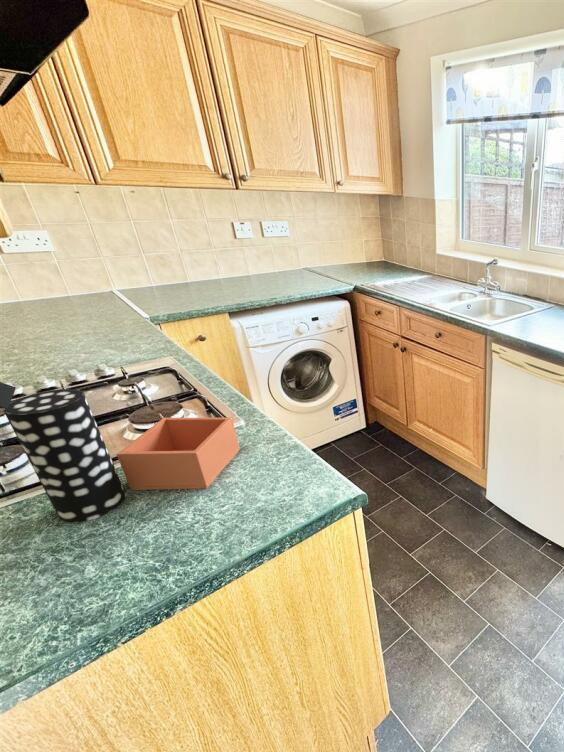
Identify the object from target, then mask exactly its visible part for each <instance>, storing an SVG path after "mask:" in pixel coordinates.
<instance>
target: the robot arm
mask: <svg viewBox="0 0 564 752" xmlns="http://www.w3.org/2000/svg"><path fill="white" fill-rule="evenodd" d="M16 389H17V387H16V386H14V385H11V384H7V383H6V382H5V383H4V382H3V381H2V382H1V381H0V409H4V408H8V407H9V405H10V403H11V402H12V400H13V397H14V394H15V391H16Z"/></svg>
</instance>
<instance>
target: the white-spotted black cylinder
mask: <svg viewBox="0 0 564 752" xmlns="http://www.w3.org/2000/svg"><path fill="white" fill-rule="evenodd" d="M2 409H3V413H4V415H5V417H6V419H7V421H8V422H9V425H10V426H11V428H12V430H13V432H14V434H15V436H16V438H17V440H18V442H19V443H20V445H21V448H22V449H23V452H24V453H25V456H26V457H27V459H28V461H29V463H30V465H31V466H32V468H33V471H34V473H35V474H36V476H37V478H38V480H39V482H40V484H41V487H42V488H43V490H44V492H45V493H46V495H47V497H48V499H49V502H50V503H51V505H52V507H53V509H54V511H55V513H56V515H57V516H58V519H59V520H60V521H61V522H64V523H68V524H76V523H83V522H88V521H91V520H94V519H97V518H100V517H103V516H105V515H107V514H109V513H111V512H113V511H114V510H115V509H117V508H118V507H120V506H121V505H123V503H124V502H125V500H126V497H127V493H126V491H125V488H124V486H123V483H122V481H121V478H120V476H119V474H118V472H117V469H116V467H115V465H114V462H113V460H112V457H111V456H110V455H111V454H110V452H109V451H108V448H107V445H106V443H105V440H104V438H103V436H102V434H101V431H100V428H99V426H98V424H97V421H96V419H95V417H94V415H93V412H92V410H91V407H90V405H89V403H88V400H87V398H86V396H85V393H84V391H82V390H80V389H76V388H59V389H50V390H45V391H40V392H36V393H32V394H28V395H26V396H23V397H20V398H18V399H15V400H13V401H11V402H10V405H9V407H8V408H2Z"/></svg>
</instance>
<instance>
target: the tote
mask: <svg viewBox="0 0 564 752" xmlns="http://www.w3.org/2000/svg"><path fill="white" fill-rule="evenodd" d="M240 450H241V447H240V443H239V440H238V436H237V433H236V428H235V425H234V421H233V418H232V417H163V418H161V419H160V420H158V421H157V422H156V423H155V424H154V425H152V426H151V427H150V428H149V429H147V430H146V431H145V432H143V433H142V434H140V435H139V436H138V437H137V438H136V439H134V440H132V442H130V443H129V444H127V445H126V446H125V447H124V448H122V449H121V450H119V451H118V453H116V456H117V459H118V462H119V464H120V466H121V469H122V472H123V474H124V476H125V479H126V481H127V483H128V486H129V489H130V490H131V491H141V490H143V491H144V490H146V491H147V490H183V489H184V490H186V489H187V490H190V489H208V488H209V487H210V486H211V484H212V483H213V482H214V481H215V480H216V478H217V477H218V476H219V475H220V474H221V473H222V471H223V470H224V469H225V468H226V467H227V466H228V464H229V463H230V462H231V461H232V460H233V458H234V457H235V456H236V455H237V454H238V452H239V451H240Z"/></svg>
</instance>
